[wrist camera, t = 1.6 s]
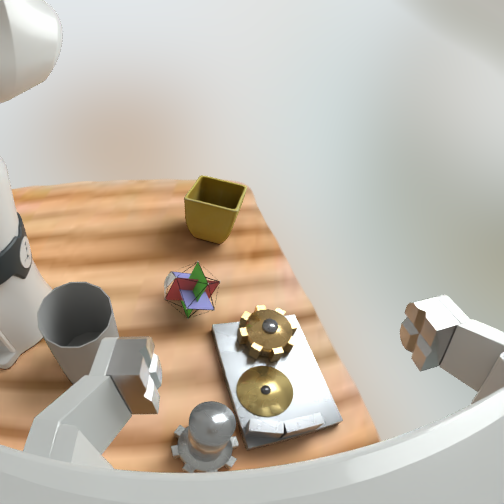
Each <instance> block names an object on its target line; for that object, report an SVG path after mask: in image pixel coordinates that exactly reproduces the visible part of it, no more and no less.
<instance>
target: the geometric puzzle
mask: <svg viewBox="0 0 504 504" xmlns="http://www.w3.org/2000/svg"><path fill="white" fill-rule="evenodd" d="M193 264H194V263H193ZM195 264H196V263H195ZM188 266H189V265H188ZM192 266H193V265H192ZM192 266H191V267H192ZM183 268H184V267H183ZM188 269H189V268H188ZM185 271H186V270H185ZM185 271H184V272H185ZM208 272H209V271H208ZM209 273H210V272H209ZM210 274H211V273H210ZM206 278H207V277H205V275H204V273H203V271H202V269H201V267H200V265H199V262H198V261H197V264H196V266H195V268H194V270H193V271H192V273H191V274H188V273H179V272H173V271H172V272H170V273H169V274H168V276H167V277H166V279H165V282H164V289H165V294H167V293H166V288H167V287H168V286H169V285H170V283H171V282H172V281H173V280H174V282H173V284H172V286H171V288H170V290H169V292H168V294H167V296H166V298H165V299H164V300H167V302H168V300H180V301H181V303H182V306H183V308H184V311H185V313H186V316H187V319H188V318H189V317H190V316H191V315H190V314H191V312H192V310H193V309H197V310H212V311H213V310H214V308H215V307H214V306H212V304H213V302H212V304H211V302H210V300H209V298H210V297H211V295H212V293H213V292H214V290H215V289H216V287H217V286H218V284H219V283H220V281H217V280H214V281H208V280H206ZM208 279H210V278H208ZM211 280H213V279H211ZM218 288H219V287H218ZM167 290H168V289H167ZM217 293H218V292H217ZM216 298H217V297H216ZM211 300H212V297H211ZM169 302H170V301H169ZM169 302H168V303H169ZM171 303H172V302H171ZM215 303H216V302H215ZM174 304H175V303H174ZM176 305H177V304H176ZM178 306H179V305H178ZM182 306H181V307H182ZM173 307H174V306H173ZM174 308H175V307H174ZM197 310H196V311H197ZM196 311H195V312H196ZM179 312H180V311H179ZM195 312H194V313H195ZM194 313H193V314H194ZM193 314H192V315H193ZM202 314H203V313H202ZM189 315H190V316H189ZM199 315H200V314H199ZM186 316H185V317H186ZM196 316H197V315H196ZM193 317H194V316H193Z"/></svg>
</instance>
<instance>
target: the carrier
mask: <svg viewBox="0 0 504 504" xmlns="http://www.w3.org/2000/svg"><path fill="white" fill-rule="evenodd" d="M285 317H286V318H287V319H288V321H295V323H296V325H297V330H296V332H295V334H294V336H293V337H295V338H297V341H296V343H295V344H294V346H293V348H292V350H291V351H290V353H287V352H285V351H283V352H284V353H283V354H282V356H281V358H280V360H278V361H273V362H270V359H269V357H266V356H261V355H259V356H258V358H257V359H255V358H253V357H251V356H249V355H248V354H249V351H250V349H249V348H248V347H247V345H246V344H240V345H239V342H238V339H237V335H238V331H239V328H241V327H239V323H240V322H233V323H224V324H214V325H212V334H213V338H214V341H215V345H216V349H217V353H218V356H219V360H220V364H221V367H222V371H223V375H224V378H225V382H226V385H227V389H228V392H229V396H230V399H231V402H232V406H233V409H234V412H235V416H236V419H237V422H238V426H239V429H240V432H241V435H242V438H243V442H244V445H245V448H246V450H251V449H255V448H259V447H263V446H267V445H271V444H275V443H279V442H283V441H286V440H290V439H293V438H297V437H300V436H303V435H307V434H310V433H313V432H316V431H319V430H322V429H325V428H328V427H331V426H334V425H336V424H339V423H340V422H342V421H343V420H342V418H341V415H340V413H339V411H338V409H337V406H336V404H335V402H334V400H333V398H332V395H331V393H330V391H329V389H328V386H327V384H326V382H325V380H324V378H323V375H322V373H321V371H320V369H319V367H318V365H317V362H316V360H315V358H314V356H313V354H312V351H311V349H310V347H309V345H308V343H307V341H306V338H305V336H304V334H303V332H302V330H301V327H300V325H299V323H298V321H297V319H296V317H295V315H288V316H285Z"/></svg>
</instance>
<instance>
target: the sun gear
mask: <svg viewBox="0 0 504 504" xmlns="http://www.w3.org/2000/svg"><path fill="white" fill-rule="evenodd" d="M284 314H285V311H283V310H281V309H279V308H277V309H276V311H273V310H268V309H266V307H265V305H259V306H256V308H255V311H254V313H252V314H250V313H248V312H246V311H245V313H244V314H243V315H242V317H241V320H240V323H239V327H241V328H239V331H238V335H237V339H238V342H239V345H240V344H246V345H247V347H248V348H249V349H250V351H249V354H248V355H249V356H251V357H253V358H255V359H257V358H258V356H259V355H261V356H266V357H269V359H270V362H273V361H278V360H280V358H281V356H282V354H283V353H284V352H283V351H285V352H287V353H290V351H291V350H292V348H293V346H294V344H295V343H296V341H297V338H295V337H293V336H294V334H295V332H296V330H297V325H296V323H295V321H288V319H287V318H286V317H285V316H284Z"/></svg>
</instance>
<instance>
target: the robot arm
mask: <svg viewBox="0 0 504 504" xmlns="http://www.w3.org/2000/svg"><path fill="white" fill-rule="evenodd" d="M62 39H63V34H62V25H61V22H60V19H59V17H58V15H57V13H56V12H55V10H54V9H53V8H52V7H51V6H50V5H48V4H47V3H46V2H45V1H43V0H0V103H3V102H5V101H8V100H10V99H12V98H14V97H15V96H17V95H19V94H21V93H23V92H25V91H27V90H29V89H30V88H32V87H34V86H36V85H38V84H40V83H42V82H43V81H45V80H46V79H47V77H48V76H49V74H50V73H51V72H52V70H53V68H54V66H55V64H56V62H57V60H58V57H59V55H60V51H61V46H62ZM51 291H52V288H51V287H50V286H49V285H48V284H47V282H46V281H45V280H44V279H43V277H42V276H41V274H40V272H39V271H38V269H37V267H36V265H35V263H34V261H33V259H32V254H31V249H30V245H29V241H28V238H27V235H26V232H25V228H24V225H23V222H22V219H21V216H20V215H19V213H18V212H17V211H16V207H15V203H14V199H13V194H12V190H11V185H10V181H9V176H8V170H7V166H6V164H5V162H4V160H3V159H2V157H1V156H0V368H2V369H8V368H9V367H11V366H12V365H13V364H14V362H15V361H16V360H17V358H18V357H19V356H20V354H22V353H23V352H24V351H26V350H27V349H29V348H30V347H32V346H34V345H35V344H36V343H37V342H39V341H40V340H41V339H42V338H43V336H42V334H41V332H40V330H39V328H38V320H37V312H38V309H39V307H40V305H41V303H42V301H43V299H44V298H45V297H46V296H47V295H48V294H49V293H50V292H51ZM405 314H406V316H407V318H406V319H405V320H404V321H403V322H402V324H401V329H400V338H401V341H402V344H403V346H404V347H405V349H406V350H408V351H410V352H412V359H413V361H414V363H415V364H416V366H417V367H418V369H419V371H424V370H427V369H430V368H433V367H437V366H440V367H441V368H442V369H444V370H445V371H447V372H449V373H450V374H451V375H453V376H454V377H456V378H458V379H459V380H461V381H462V382H463V383H465V384H466V385H468V386H470V387H471V388H473V389H474V390H475V391H477V392H478V393H477V394H476V396H475V397H474V399H473V400H472V403H471V405H469V406H467V407H465V408H463V409H461V410H459V411H457V412H455V413H453V414H451V415H449V416H446V417H444V418H442V419H440V420H437V421H435V422H433V423H430V424H428V425H425V426H423V427H420V428H418V429H415V430H413V431H410V432H407V433H405V434H402V435H399V436H396V437H393V438H390V439H387V440H384V441H381V442H378V443H375V444H372V445H368V446H365V447H361V448H358V449H354V450H351V451H347V452H343V453H339V454H335V455H331V456H326V457H322V458H317V459H313V460H308V461H302V462H297V463H291V464H285V465H279V466H272V467H265V468H257V469H247V470H237V471H224V472H203V473H160V472H140V471H127V470H117V469H114V468H113V467H112V465H111V464H110V463H109V462H108V461H107V460H106V459H105V458H104V457H103V456H102V453H103V452H104V451H105V450H106V448H107V447H108V446H109V444H110V443H111V442H112V441H113V439H114V438H115V437H116V436H117V434H118V433H119V432H120V430H121V429H122V428H123V427H124V425H125V424H126V423H127V421H128V420H129V419H130V418H131V416H132V415H131V414H158V409H159V401H160V396H159V393H158V391H157V389H158V388H159V387H160V386H161V383H162V369H161V364H160V360H159V357H158V356H157V355H155V354H154V353H153V352H154V343H153V341H152V338H151V337H149V336H147V337H105V338H103V339H102V340H101V343H100V345H99V348H98V351H97V354H96V356H95V359H94V362H93V365H92V368H91V371H90V373H89V375H84V376H83V377H82V378H81V379H80V380H78V381H77V382H76V383H75V384H74V385H73V386H71V387H70V388H69V389H68V390H67V391H65V392H64V393H63V394H62V395H61V396H60V397H58V398H57V399H56V400H55V401H54V402H52V403H51V404H50V405H49V406H48V407H47V408H45V409H44V410H43V411H42V412H41V413H40V414H38V415H37V416H36V417H35V418H34V420H33V423H32V426H31V429H30V432H29V435H28V438H27V441H26V444H25V447H24V450H23V451H19V450H16V449H13V448H10V447H6V446H3V445H0V504H504V332H502V331H499V330H497V329H495V328H492V327H490V326H488V325H485V324H483V323H481V322H478V321H476V320H470V319H469V318H468V317H467V316H466V315H465V314H464V313H463V312H462V310H461V309H460V308H459V307H458V306H457V305H456V304H455V303H454V302H453V301H452V300H451V299H450V298H449V297H448V296H446V295H444V294H443V295H439V296H435V297H432V298H428V299H425V300H420V301H415V302H410V303H409V304H408V305H407V307H406V310H405Z"/></svg>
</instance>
